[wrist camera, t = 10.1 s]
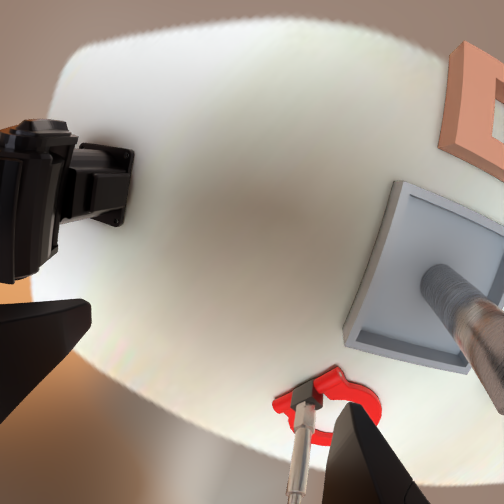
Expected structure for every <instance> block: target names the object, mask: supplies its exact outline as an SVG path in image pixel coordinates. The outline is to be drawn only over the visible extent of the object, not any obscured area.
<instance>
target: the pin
mask: <svg viewBox="0 0 504 504" xmlns="http://www.w3.org/2000/svg"><path fill="white" fill-rule="evenodd" d="M420 291H421V295H422V297H423V298H424V299H425V301H426V302H427V303H428V305H429V306H430V307H431V309H432V310H433V311H434V313H435V314H436V315H437V317H438V318H439V319H440V321H441V322H442V324H443V325H444V326H445V328H446V329H447V331H448V332H449V334H450V335H451V336H452V338H453V339H454V341H455V342H456V344H457V345H458V347H459V348H460V350H461V351H462V353H463V354H464V356H465V357H466V359H467V360H468V362H469V363H470V365H471V367H472V368H473V370H474V371H475V373H476V375H477V376H478V378H479V380H480V381H481V383H482V385H483V386H484V388H485V390H486V391H487V393H488V395H489V397H490V398H491V400H492V402H493V404H494V405H495V407H496V409H497V411H498V413H499V414H501V415H504V311H503V310H501V309H500V308H499V307H498V306H497V305H496V304H495V303H494V302H492V301H491V300H490V299H489V298H488V297H487V296H485V295H484V294H483V293H482V292H481V291H480V290H478V289H477V288H476V287H475V286H473V285H472V284H471V283H470V282H469V281H467V280H466V279H465V278H464V277H462V276H461V275H460V274H459V273H457V272H456V271H455V270H453V269H452V268H451V267H450V266H448V265H446V264H436V265H433V266H432V267H430V268H429V269H428V270H427V271H426V272H425V273H424V275H423V277H422V279H421V283H420Z"/></svg>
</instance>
